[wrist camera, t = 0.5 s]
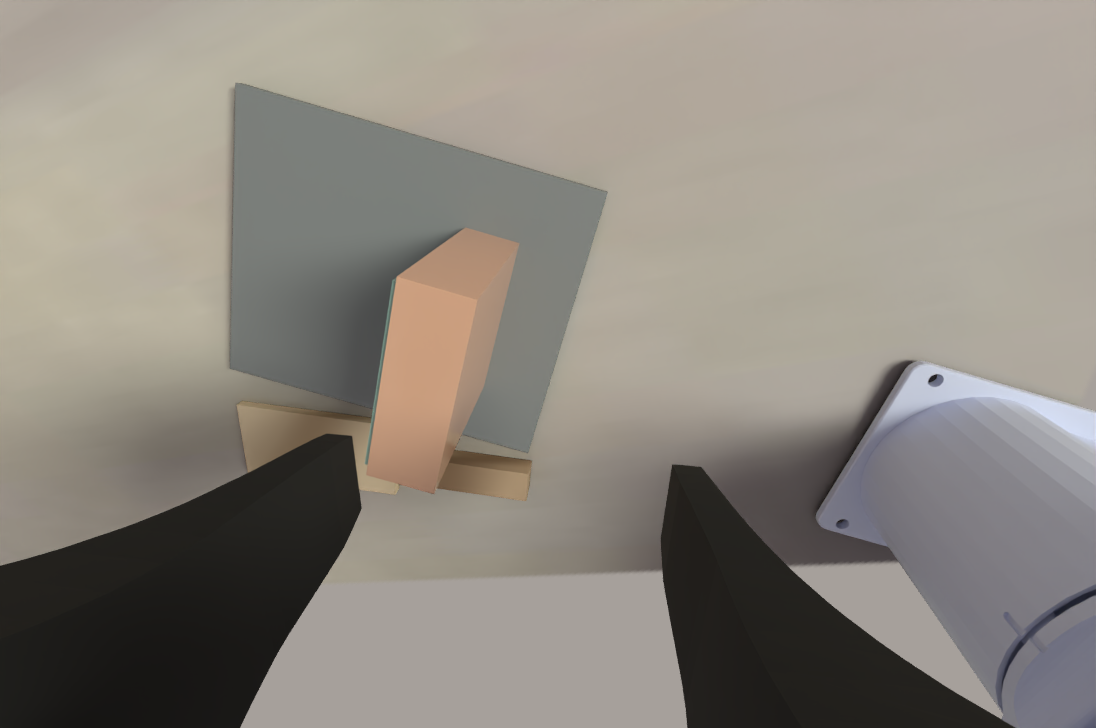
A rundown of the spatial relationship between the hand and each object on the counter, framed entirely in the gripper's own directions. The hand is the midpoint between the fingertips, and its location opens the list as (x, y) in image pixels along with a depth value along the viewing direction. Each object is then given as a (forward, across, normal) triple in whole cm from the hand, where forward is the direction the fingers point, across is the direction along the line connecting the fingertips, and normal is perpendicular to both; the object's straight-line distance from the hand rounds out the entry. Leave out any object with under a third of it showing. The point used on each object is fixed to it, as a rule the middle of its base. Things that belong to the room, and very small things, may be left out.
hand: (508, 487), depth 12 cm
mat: (+10, +6, -2) cm, 11 cm away
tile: (+9, +3, -1) cm, 10 cm away
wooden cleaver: (+10, +8, +6) cm, 14 cm away
